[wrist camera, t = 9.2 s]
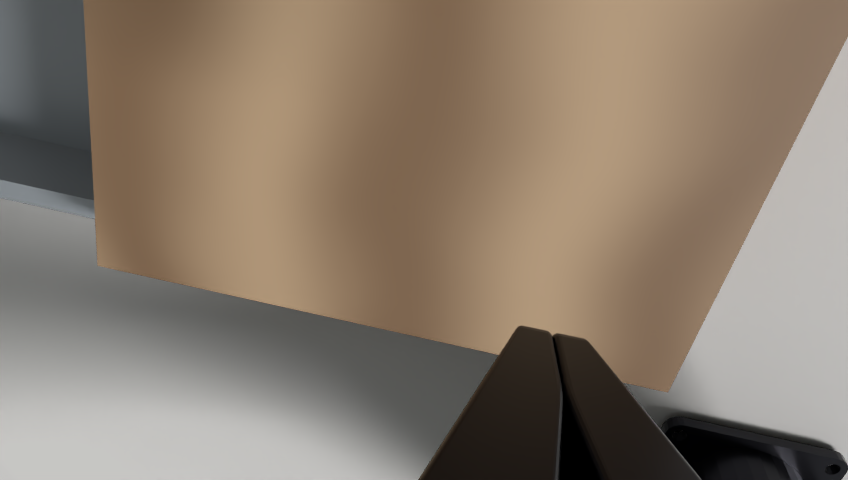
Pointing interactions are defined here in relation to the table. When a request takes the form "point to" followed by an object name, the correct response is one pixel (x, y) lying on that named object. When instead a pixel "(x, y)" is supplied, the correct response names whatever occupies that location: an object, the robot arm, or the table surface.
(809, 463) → the robot arm
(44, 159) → the box
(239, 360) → the table surface
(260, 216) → the walnut plate
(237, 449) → the table surface
